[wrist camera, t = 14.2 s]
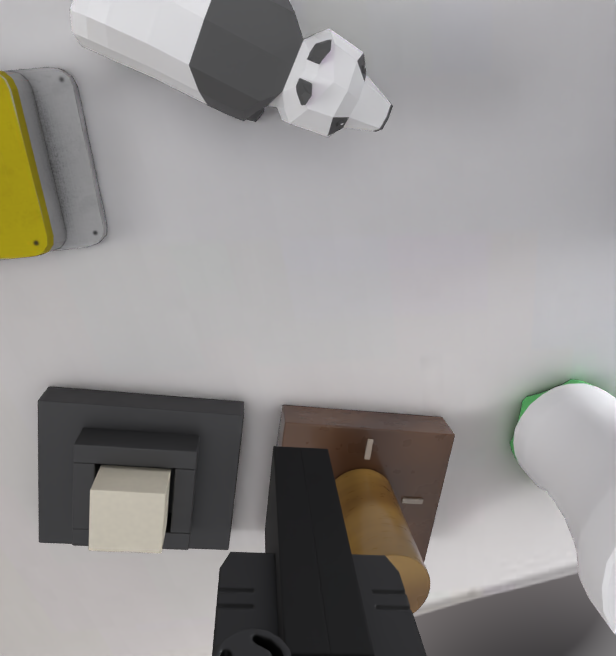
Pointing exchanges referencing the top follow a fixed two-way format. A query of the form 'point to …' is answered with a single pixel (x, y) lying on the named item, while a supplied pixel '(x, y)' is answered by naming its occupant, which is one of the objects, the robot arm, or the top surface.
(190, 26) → the giant panda
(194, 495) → the grey stepped base
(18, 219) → the emergency button
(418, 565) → the volume knob
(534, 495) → the top surface
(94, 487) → the cream square push button
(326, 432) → the volume panel
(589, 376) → the top surface
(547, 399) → the cup
